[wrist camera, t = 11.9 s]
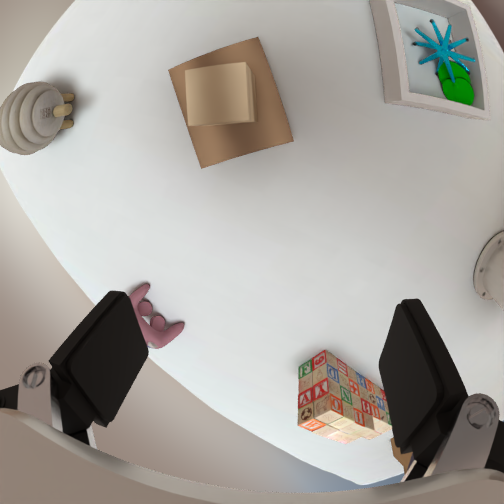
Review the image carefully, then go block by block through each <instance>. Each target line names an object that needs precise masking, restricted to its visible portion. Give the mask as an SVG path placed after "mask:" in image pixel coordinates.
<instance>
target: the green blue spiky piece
mask: <svg viewBox="0 0 504 504" xmlns="http://www.w3.org/2000/svg"><path fill="white" fill-rule="evenodd" d="M430 22H431V23H432V25H433V28H434V30H435V33H436V35H437V38H438V40H439V43H440V45H438V44H437V43H436V42H435V41H433V40H432V39H431V38H429V37H428V36H426V35H425V34H424V33H422V32H421V31H419V28H416V29H415V31H416V32H417V33H418V34H419V35H420V36H422V37H423V38H424V39H425V40H426V41H428V42H429V43H423V42H414V43H413V45H414V46H416V45H420V46H424V47H428V48H432V49H436V50H437V52H435V53H433V54H432V55H430V56H428V57H426V58H425V59H423V60H421V61H420V62H419V64H424V63H426V62H428V61H431V60H433V59H436V58H438V57H440V59H439V63H438V67H437V72H436V75H439V79H440V82H441V83H442V88H443V92H444V94H445V96H446V98H447V99H448V100H450V101H454V102H458V103H461V104H465V105H468V106H470V105H471V104H472V103H473V100H474V90H473V87H472V85H471V79H470V76H469V75H470V70H469V69H468V68H467V67H466V66H465V65H464V64H463V63H462V62H461V61H460V60H459V59H463V60H467V61H471V62H475V60H476V59H475V58H470V57H467V56H465V55H462V54H459V53H456V52H452V51H451V49H453V48H455V47H457V46H459V45H461V44H463V43H465V42H468V41H469V38H468V37H466V38H463V39H461V40H458V41H455V42H453V43H452V42H451V40H450V39H449V38H450V33H451V28H452V25H451V24H449V25H448V28H447V31H446V34H445V38H444V40H443V38H442V36H441V33H440V31H439V30H438V28H437V26H436V24H435V22H434V20H433V19H431V20H430ZM448 56H450V57H451V58H452V59H453V60H454V61H455V62H454V61H451V60H449V58H448ZM458 58H459V59H458ZM456 62H457V63H456Z"/></svg>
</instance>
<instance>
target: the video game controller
mask: <svg viewBox="0 0 504 504" xmlns="http://www.w3.org/2000/svg"><path fill="white" fill-rule="evenodd" d="M149 288H150V286H149V285H148V284H145V285H143V286H141V287H140V288H138V289H137V290H136V291H135V292H133V293H132V294H131V295H130V296H129V297H130V299H131V302H132V305H133V308H134V311H135V314H136V317H137V320H138V323H139V325H140V328H141V331H142V334H143V336H144V339H145V341H146V344H147V347H149V348H155V349H159V348H162V347H164V346H165V345H167V344H168V343H169V342H171V341H172V340H173V339H174V338H175V337H177V336H178V335H179V334H180V333H181V332H182V330H183V329H184V323H177V324H175V325H173V326H171V327H170V328H168V329H167V330H164V326H165V320H164V319H163V318H162V317H161V316H154V317H152V318H151V320H150V325H149V324H148V323H147V322H146V321H145V320H144V319H143V318H142V316H148V315H150V314H151V312H152V306H151V304H150V303H149V302H140V300H141V299H142V298H143V297H144V296H145V295H146V294H147V292H148V290H149ZM139 302H140V303H139Z"/></svg>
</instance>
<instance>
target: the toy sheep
mask: <svg viewBox="0 0 504 504" xmlns="http://www.w3.org/2000/svg"><path fill="white" fill-rule="evenodd" d="M73 99H74V94H72V93H69V94H60V92H59V91H58V89H57V88H55V87H54V86H52V85H50V84H48V83H45V82H34V83H27V84H24V85H22V86H20V87H19V88H17V89H16V90H15V91H14V92H12V93H11V94H10V95H9V96H8V97H7V98H6V99H5V101H4V102H3V104H2V106H1V107H0V145H1V146H2V147H3V148H5V149H7V150H8V151H10V152H12V153H17V154H20V155H30V154H33V153H35V152H37V151H38V150H41V149H43V148H45V147H46V146H48V145H49V144H50V143H51V142H52V140H53V139H54V137H55V136H56V134H57V132H58V131H59V129H66V128H71V127H72V126H73V121H72V120H64V116H66V115H69V114H70V113H71V112H72V105H71V104H64V102H71V101H73Z"/></svg>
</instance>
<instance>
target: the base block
mask: <svg viewBox="0 0 504 504" xmlns="http://www.w3.org/2000/svg"><path fill="white" fill-rule="evenodd" d="M240 62H246V64H247V65H248V66H249V68H250V69H251V71H252V72H253V74H254V75H255V87H256V105H257V122H253V123H236V124H224V125H213V126H188V116H187V100H186V82H185V70H190V69H195V68H201V67H208V66H215V65H222V64H231V63H240ZM168 71H169V74H170V77H171V80H172V83H173V86H174V89H175V92H176V95H177V98H178V101H179V104H180V107H181V110H182V113H183V116H184V119H185V122H186V125H187V128H188V131H189V134H190V137H191V140H192V143H193V146H194V149H195V152H196V155H197V157H198V160H199V163H200V166H201V169H202V168H205V167H208V166H211V165H214V164H217V163H220V162H223V161H226V160H229V159H232V158H236V157H239V156H242V155H246V154H249V153H252V152H256V151H259V150H263V149H266V148H270V147H274V146H277V145H281V144H285V143H289V142H293V141H294V140H293V136H292V133H291V130H290V127H289V123H288V120H287V117H286V114H285V111H284V108H283V105H282V102H281V99H280V96H279V93H278V90H277V87H276V84H275V81H274V78H273V75H272V72H271V70H270V67H269V64H268V61H267V59H266V56H265V53H264V51H263V48H262V46H261V43H260V40H259V38H258V37H256V38H252V39H249V40H246V41H242V42H239V43H236V44H233V45H230V46H227V47H224V48H221V49H218V50H215V51H212V52H210V53H207V54H205V55H202V56H199V57H197V58H194V59H192V60H190V61H187V62H185V63H183V64H180V65H178V66H176V67H174V68H172V69H169V70H168Z"/></svg>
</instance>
